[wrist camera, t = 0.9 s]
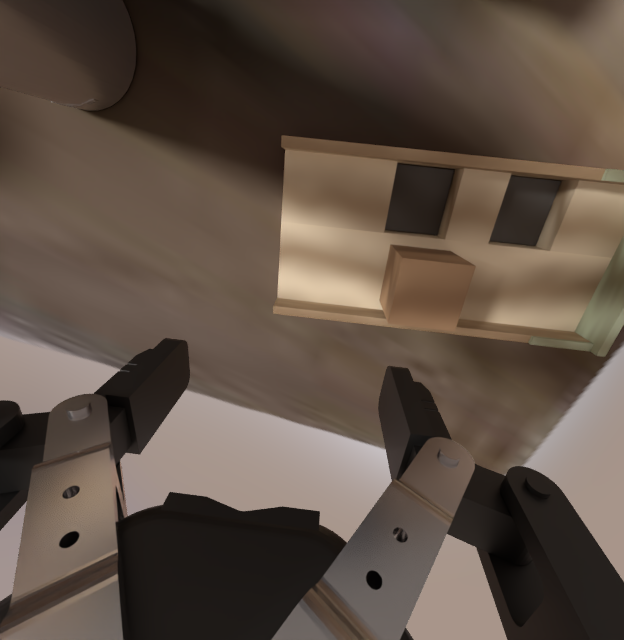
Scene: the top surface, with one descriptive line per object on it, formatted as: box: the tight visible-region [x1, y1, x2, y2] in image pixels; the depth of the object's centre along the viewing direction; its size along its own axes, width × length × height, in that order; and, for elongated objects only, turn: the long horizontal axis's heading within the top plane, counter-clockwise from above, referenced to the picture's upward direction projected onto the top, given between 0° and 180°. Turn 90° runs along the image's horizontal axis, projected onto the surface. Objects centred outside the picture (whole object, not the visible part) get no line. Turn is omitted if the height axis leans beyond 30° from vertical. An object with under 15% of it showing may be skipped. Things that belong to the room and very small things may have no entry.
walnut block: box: [379, 244, 476, 331], centre depth 24 cm, size 5×5×5 cm
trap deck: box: [273, 135, 624, 357], centre depth 25 cm, size 13×28×5 cm, turn 84°
